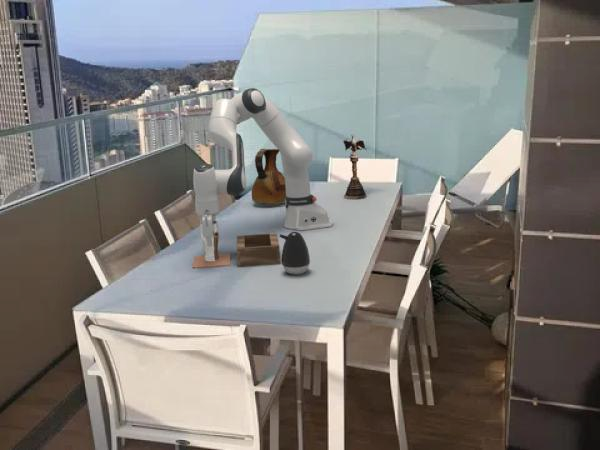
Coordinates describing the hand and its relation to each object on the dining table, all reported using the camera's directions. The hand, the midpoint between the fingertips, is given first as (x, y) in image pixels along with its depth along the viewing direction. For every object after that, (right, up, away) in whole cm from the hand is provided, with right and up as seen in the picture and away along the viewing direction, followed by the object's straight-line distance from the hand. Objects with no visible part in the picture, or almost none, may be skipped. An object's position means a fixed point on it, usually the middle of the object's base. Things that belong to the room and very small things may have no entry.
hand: (210, 242), depth 238 cm
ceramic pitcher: (+19, +18, +92) cm, 95 cm away
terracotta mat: (0, -7, +2) cm, 8 cm away
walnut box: (+18, -6, +3) cm, 20 cm away
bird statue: (+64, +22, +101) cm, 122 cm away
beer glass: (0, -7, +2) cm, 7 cm away
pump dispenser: (+33, -10, -15) cm, 38 cm away
